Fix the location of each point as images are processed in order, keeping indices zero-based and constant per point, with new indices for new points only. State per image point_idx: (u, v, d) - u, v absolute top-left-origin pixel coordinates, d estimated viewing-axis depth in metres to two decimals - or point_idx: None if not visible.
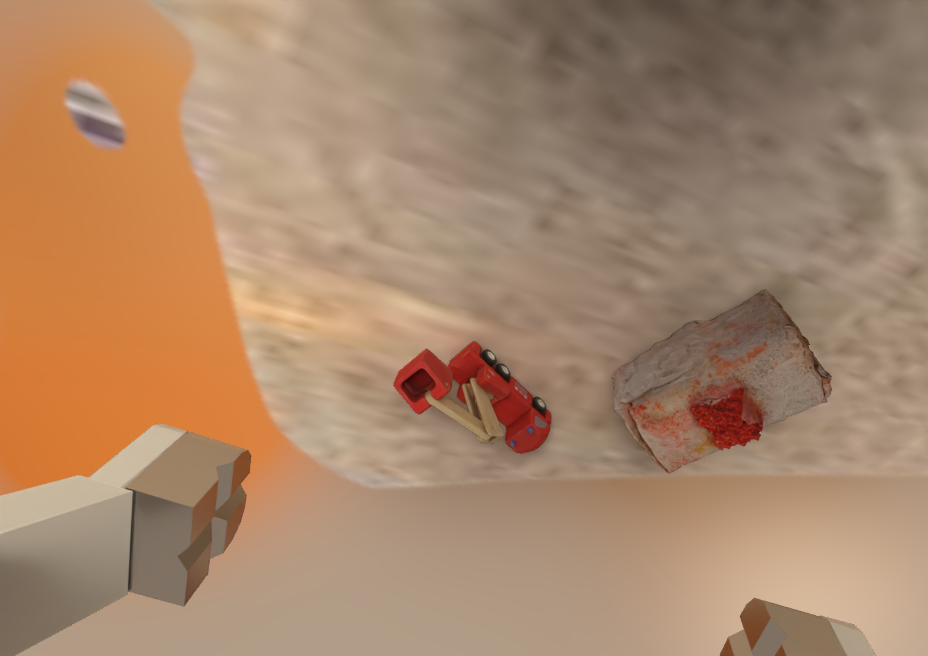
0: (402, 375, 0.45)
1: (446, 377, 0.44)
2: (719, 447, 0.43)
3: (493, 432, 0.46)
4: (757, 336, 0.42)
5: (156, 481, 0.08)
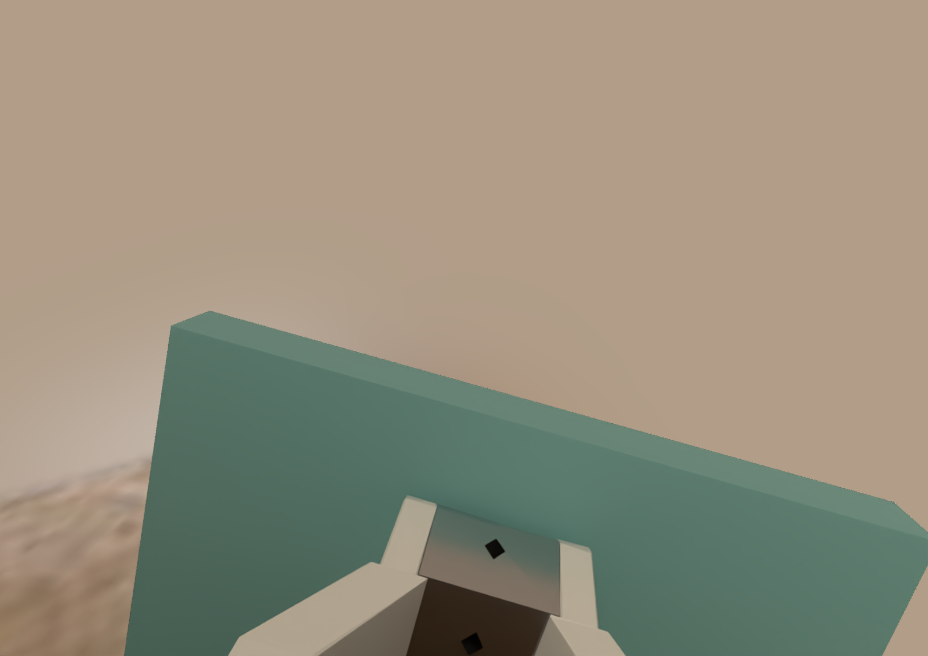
0: None
1: None
2: None
3: None
4: None
5: (441, 566, 0.08)
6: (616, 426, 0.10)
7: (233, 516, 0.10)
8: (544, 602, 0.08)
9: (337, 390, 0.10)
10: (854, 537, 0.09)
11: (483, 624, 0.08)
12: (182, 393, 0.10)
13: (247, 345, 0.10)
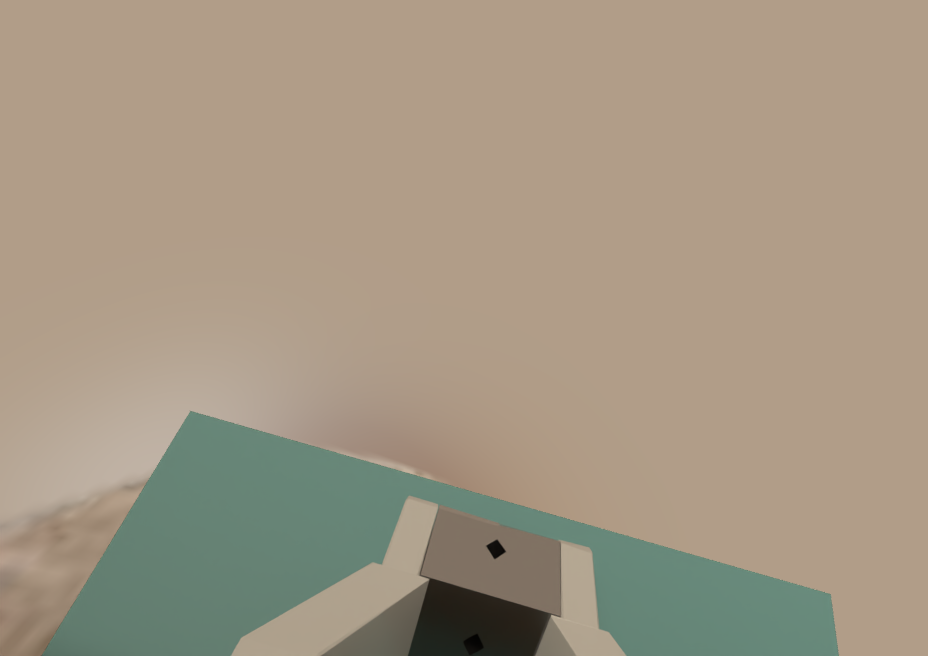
0: None
1: None
2: None
3: None
4: None
5: (443, 566, 0.08)
6: None
7: (186, 596, 0.10)
8: (545, 602, 0.08)
9: (328, 465, 0.11)
10: (768, 592, 0.11)
11: (484, 624, 0.08)
12: (178, 466, 0.11)
13: (253, 431, 0.12)
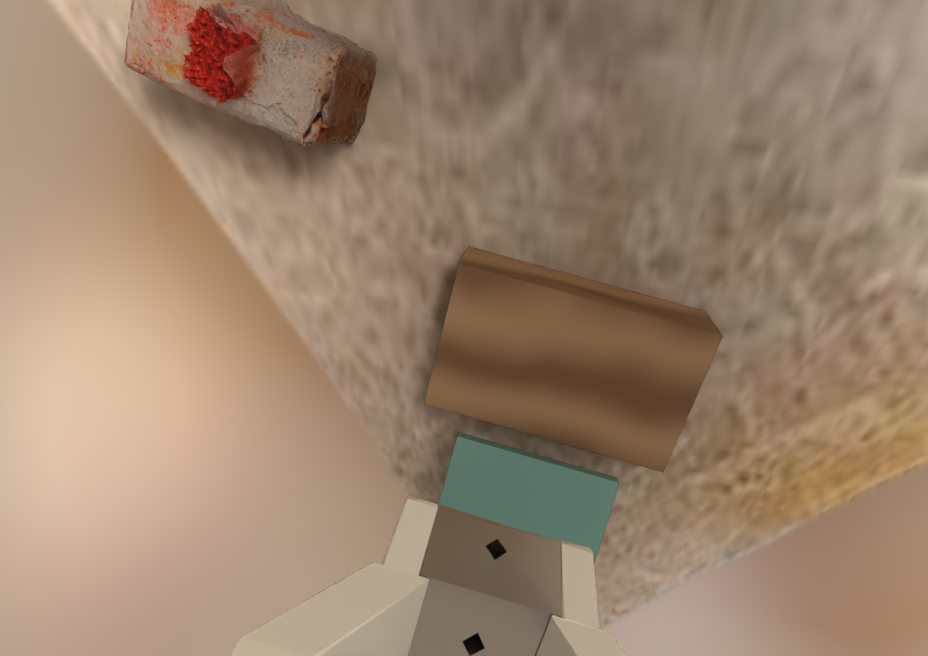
0: None
1: None
2: (184, 73, 0.36)
3: None
4: (317, 32, 0.37)
5: (443, 566, 0.08)
6: None
7: None
8: (546, 602, 0.08)
9: None
10: None
11: (485, 624, 0.08)
12: None
13: None
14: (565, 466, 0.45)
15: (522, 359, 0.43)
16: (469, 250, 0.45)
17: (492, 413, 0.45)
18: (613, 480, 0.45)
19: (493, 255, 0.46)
